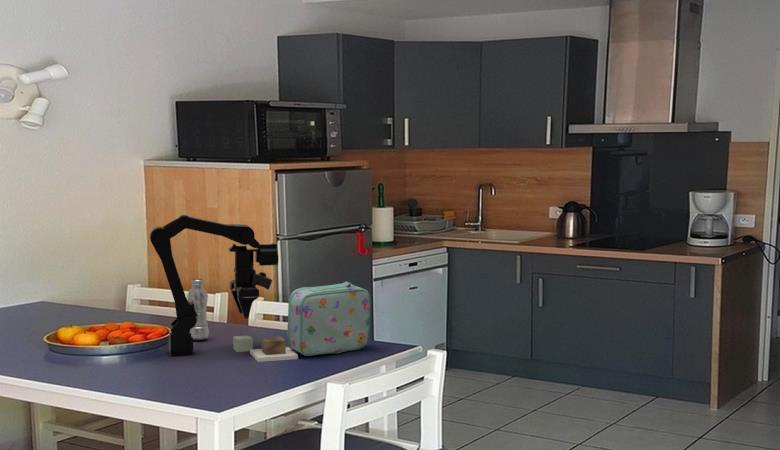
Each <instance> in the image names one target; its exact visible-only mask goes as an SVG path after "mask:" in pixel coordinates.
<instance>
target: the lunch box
mask: <svg viewBox="0 0 780 450" xmlns="http://www.w3.org/2000/svg"><path fill="white" fill-rule="evenodd" d="M371 298H372V297H371V295H370V292H369V291H368V289H364V288H362V287H361V286H360V287H359V286H357V285H354V284H352V283H351V282H349V281H344V282H342V283H335V284H330V285H321V286H320V285H319V286H318V285H317V286H305V287H304V286H303V287H300V288H297V289H295V290H293V291H292V293H290V295H289V297H288V304H287V305H288V308H287V309H288V310H287V329H286V341H287V344H288V347H289V348H290V349H291V350H293V351H294V352H298V353H300V354H301V355H303V356H306V357H311V356H316V355H317V356H319V355H327V354H340V353H344V352H349V351H350V352H351V351H357V350H360V349H363V348H364V347H365V346H366V345H367V344H368V341H369V339H370V331H371V310H372V309H371V305H372V303H371V302H372V300H371Z"/></svg>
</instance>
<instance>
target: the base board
mask: <svg viewBox="0 0 780 450" xmlns="http://www.w3.org/2000/svg"><path fill="white" fill-rule="evenodd" d="M249 354H250V355H251V356H252V357H253V358H254V359H255V361H256V362H257V363H264V362H274V361H275V362H277V361H287V360H288V361H289V360H298V359H299V355H298V354H297V353H296V351H294V350H292V349H291V348H290V347H289V346H286V354H274V355H265V354H264V353H263V352H262V348H255V349H254V348H253V349H251V350H250V351H249Z"/></svg>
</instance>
